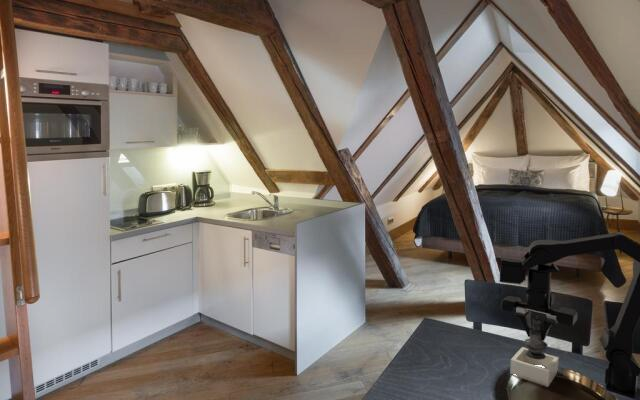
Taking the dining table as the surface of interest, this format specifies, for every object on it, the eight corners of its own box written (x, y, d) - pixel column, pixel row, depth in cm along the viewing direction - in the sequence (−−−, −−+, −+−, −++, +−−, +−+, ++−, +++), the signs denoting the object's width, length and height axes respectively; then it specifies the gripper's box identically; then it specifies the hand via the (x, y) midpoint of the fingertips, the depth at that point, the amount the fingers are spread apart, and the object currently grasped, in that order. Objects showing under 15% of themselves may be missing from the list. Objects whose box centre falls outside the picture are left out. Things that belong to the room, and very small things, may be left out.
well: (557, 372, 124) (558, 357, 124) (548, 387, 117) (548, 371, 116) (521, 360, 131) (522, 346, 130) (510, 374, 124) (510, 359, 123)
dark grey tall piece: (520, 354, 124) (522, 314, 122) (530, 347, 127) (532, 309, 126) (540, 362, 119) (543, 321, 117) (550, 355, 123) (553, 315, 121)
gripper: (583, 285, 120) (580, 337, 122) (513, 272, 133) (512, 320, 135) (573, 296, 112) (570, 352, 114) (500, 281, 124) (499, 332, 126)
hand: (536, 338), depth 122 cm, fingers closed on dark grey tall piece, 3 cm apart
